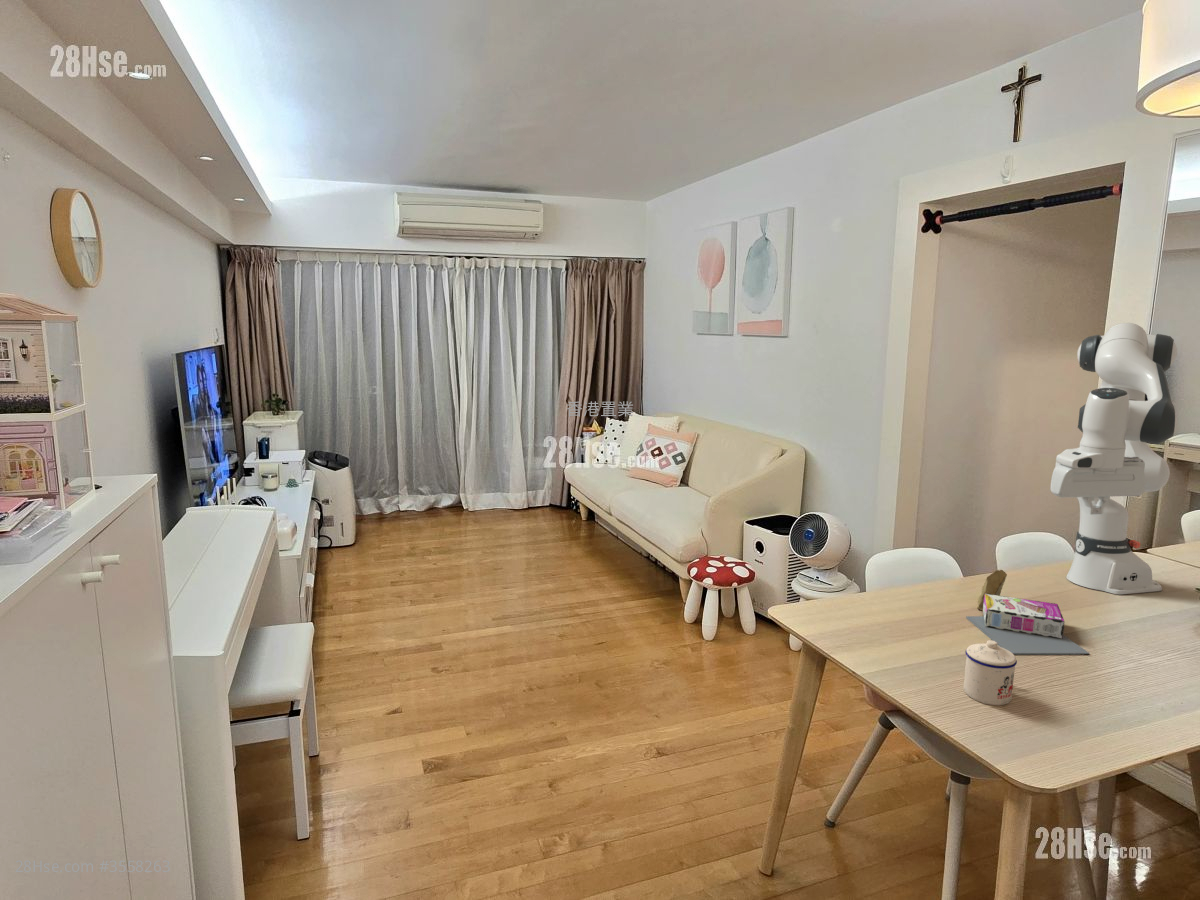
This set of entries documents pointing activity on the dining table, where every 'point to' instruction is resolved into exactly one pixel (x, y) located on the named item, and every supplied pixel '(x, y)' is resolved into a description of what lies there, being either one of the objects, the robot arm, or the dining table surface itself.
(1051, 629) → the candy bar box
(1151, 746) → the dining table surface
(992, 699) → the teacup with lid
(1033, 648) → the mat
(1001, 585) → the rock
